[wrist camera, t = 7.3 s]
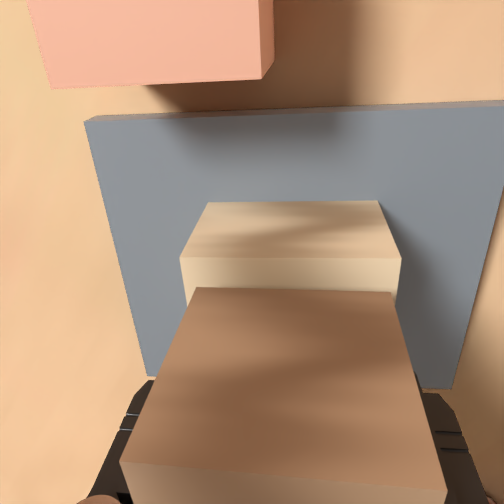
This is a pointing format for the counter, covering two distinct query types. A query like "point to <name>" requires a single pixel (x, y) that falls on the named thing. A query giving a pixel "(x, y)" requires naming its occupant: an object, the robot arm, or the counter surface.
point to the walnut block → (284, 405)
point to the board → (310, 189)
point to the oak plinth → (292, 247)
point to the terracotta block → (152, 41)
